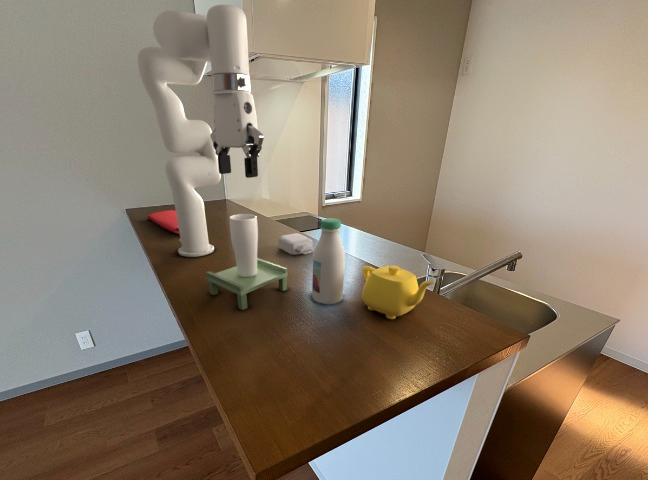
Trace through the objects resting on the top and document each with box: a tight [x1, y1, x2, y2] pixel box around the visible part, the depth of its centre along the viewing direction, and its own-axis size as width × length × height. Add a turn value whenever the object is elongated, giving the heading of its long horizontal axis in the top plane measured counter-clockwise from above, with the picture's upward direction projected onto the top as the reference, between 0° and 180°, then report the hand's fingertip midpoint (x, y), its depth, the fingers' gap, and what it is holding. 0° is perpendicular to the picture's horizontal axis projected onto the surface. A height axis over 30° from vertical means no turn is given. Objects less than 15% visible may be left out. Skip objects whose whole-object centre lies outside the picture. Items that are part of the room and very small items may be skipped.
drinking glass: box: [228, 213, 259, 277], centre depth 80 cm, size 7×7×15 cm
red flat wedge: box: [146, 209, 180, 235], centre depth 151 cm, size 16×41×4 cm, turn 36°
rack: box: [205, 257, 289, 311], centre depth 84 cm, size 14×16×6 cm
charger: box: [277, 232, 315, 256], centre depth 113 cm, size 5×9×15 cm
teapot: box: [361, 265, 436, 320], centre depth 73 cm, size 18×11×11 cm, turn 39°
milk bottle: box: [311, 217, 346, 305], centre depth 77 cm, size 8×8×20 cm
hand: (238, 175), depth 74 cm, fingers open, 9 cm apart
